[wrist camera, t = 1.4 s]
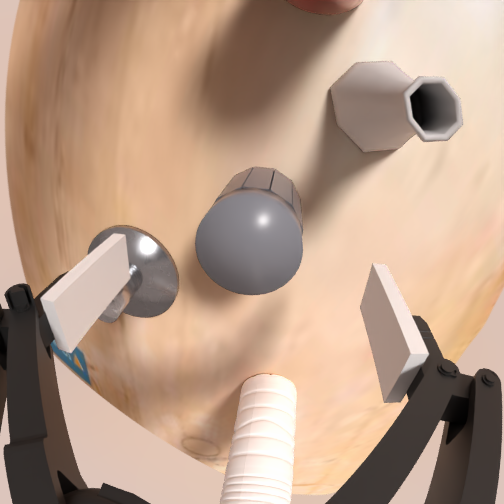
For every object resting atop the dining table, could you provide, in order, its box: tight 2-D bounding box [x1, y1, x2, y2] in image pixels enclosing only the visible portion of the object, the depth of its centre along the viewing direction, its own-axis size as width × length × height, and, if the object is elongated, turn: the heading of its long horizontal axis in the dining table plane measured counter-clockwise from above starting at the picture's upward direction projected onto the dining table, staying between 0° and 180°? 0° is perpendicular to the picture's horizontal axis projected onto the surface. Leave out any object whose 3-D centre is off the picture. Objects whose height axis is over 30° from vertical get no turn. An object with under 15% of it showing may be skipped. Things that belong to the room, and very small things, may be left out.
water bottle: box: [220, 374, 297, 504], centre depth 23 cm, size 9×6×25 cm
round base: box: [88, 225, 179, 323], centre depth 26 cm, size 10×10×6 cm
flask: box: [330, 61, 463, 152], centre depth 15 cm, size 7×7×10 cm
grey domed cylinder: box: [195, 167, 303, 295], centre depth 21 cm, size 6×6×8 cm
